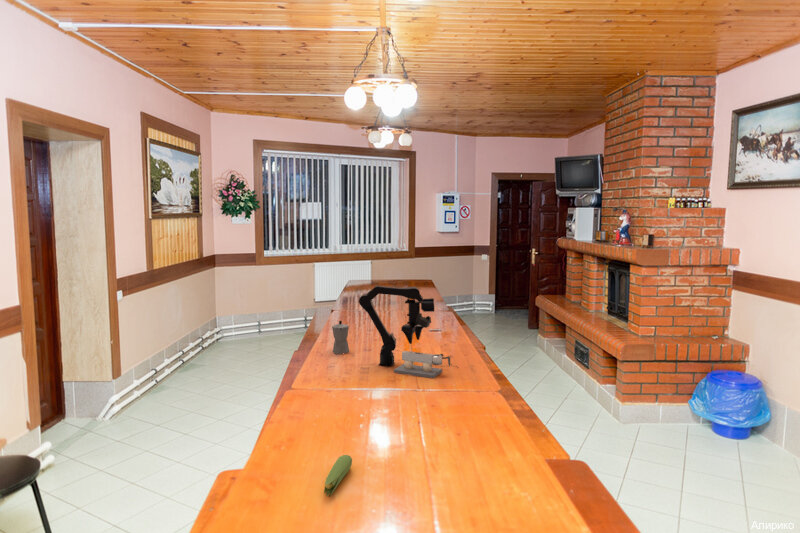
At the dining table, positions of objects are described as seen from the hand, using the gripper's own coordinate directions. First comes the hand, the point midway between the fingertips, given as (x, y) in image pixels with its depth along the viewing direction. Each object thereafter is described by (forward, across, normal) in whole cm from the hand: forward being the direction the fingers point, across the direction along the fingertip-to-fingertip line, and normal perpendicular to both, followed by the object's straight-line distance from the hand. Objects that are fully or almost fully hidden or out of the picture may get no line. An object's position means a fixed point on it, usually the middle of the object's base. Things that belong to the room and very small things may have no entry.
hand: (414, 341), depth 264 cm
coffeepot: (+12, +5, +48) cm, 50 cm away
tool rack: (+12, -11, -7) cm, 18 cm away
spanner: (+7, -11, -9) cm, 16 cm away
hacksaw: (+13, +12, -14) cm, 22 cm away
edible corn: (+12, -115, -27) cm, 118 cm away
